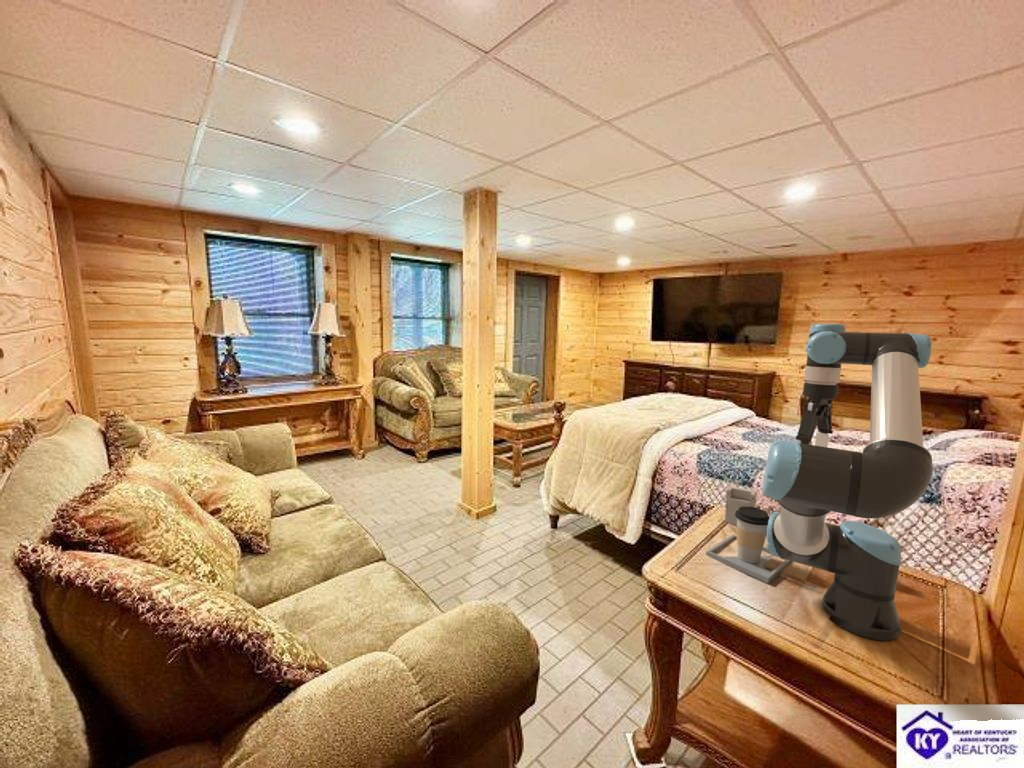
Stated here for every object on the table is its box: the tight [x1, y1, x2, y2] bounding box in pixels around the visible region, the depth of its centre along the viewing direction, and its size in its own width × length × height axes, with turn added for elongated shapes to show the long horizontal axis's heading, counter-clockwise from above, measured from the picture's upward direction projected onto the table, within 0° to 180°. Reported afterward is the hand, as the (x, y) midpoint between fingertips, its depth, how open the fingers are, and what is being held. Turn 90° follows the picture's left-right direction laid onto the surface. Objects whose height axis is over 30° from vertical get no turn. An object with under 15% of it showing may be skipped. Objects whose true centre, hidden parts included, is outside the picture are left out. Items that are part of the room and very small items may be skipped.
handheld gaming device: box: [724, 485, 757, 527], centre depth 150 cm, size 9×15×4 cm
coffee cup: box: [735, 506, 770, 564], centre depth 130 cm, size 9×9×15 cm
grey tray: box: [705, 534, 792, 585], centre depth 131 cm, size 18×18×2 cm
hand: (811, 460), depth 117 cm, fingers open, 13 cm apart
